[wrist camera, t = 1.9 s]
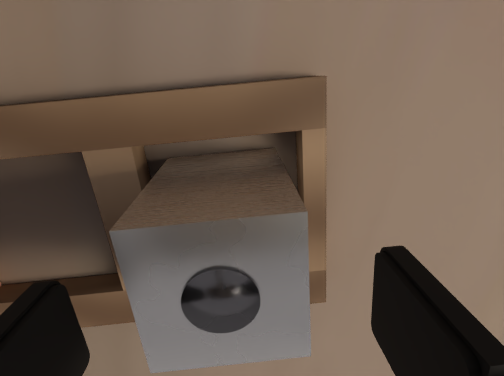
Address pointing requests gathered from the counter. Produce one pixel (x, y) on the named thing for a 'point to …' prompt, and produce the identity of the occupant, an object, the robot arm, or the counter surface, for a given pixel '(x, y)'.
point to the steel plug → (217, 262)
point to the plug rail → (161, 132)
